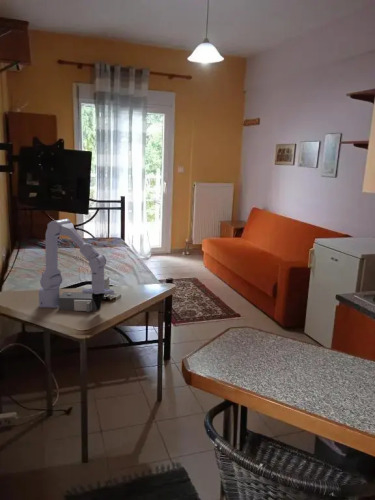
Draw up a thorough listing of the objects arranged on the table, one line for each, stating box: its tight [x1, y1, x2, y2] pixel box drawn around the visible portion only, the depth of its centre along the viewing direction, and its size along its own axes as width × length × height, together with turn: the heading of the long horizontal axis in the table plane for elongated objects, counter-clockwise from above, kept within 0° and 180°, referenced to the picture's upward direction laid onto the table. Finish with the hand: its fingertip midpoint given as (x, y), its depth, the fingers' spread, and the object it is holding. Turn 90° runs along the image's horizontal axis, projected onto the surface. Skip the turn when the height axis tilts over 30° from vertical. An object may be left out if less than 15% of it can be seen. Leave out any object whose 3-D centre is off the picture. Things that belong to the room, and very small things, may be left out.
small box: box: [104, 276, 111, 296], centre depth 215 cm, size 8×6×10 cm
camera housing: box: [58, 291, 98, 312], centre depth 199 cm, size 19×9×7 cm, turn 90°
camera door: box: [73, 300, 93, 313], centre depth 192 cm, size 8×4×5 cm, turn 90°
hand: (98, 308), depth 191 cm, fingers closed
